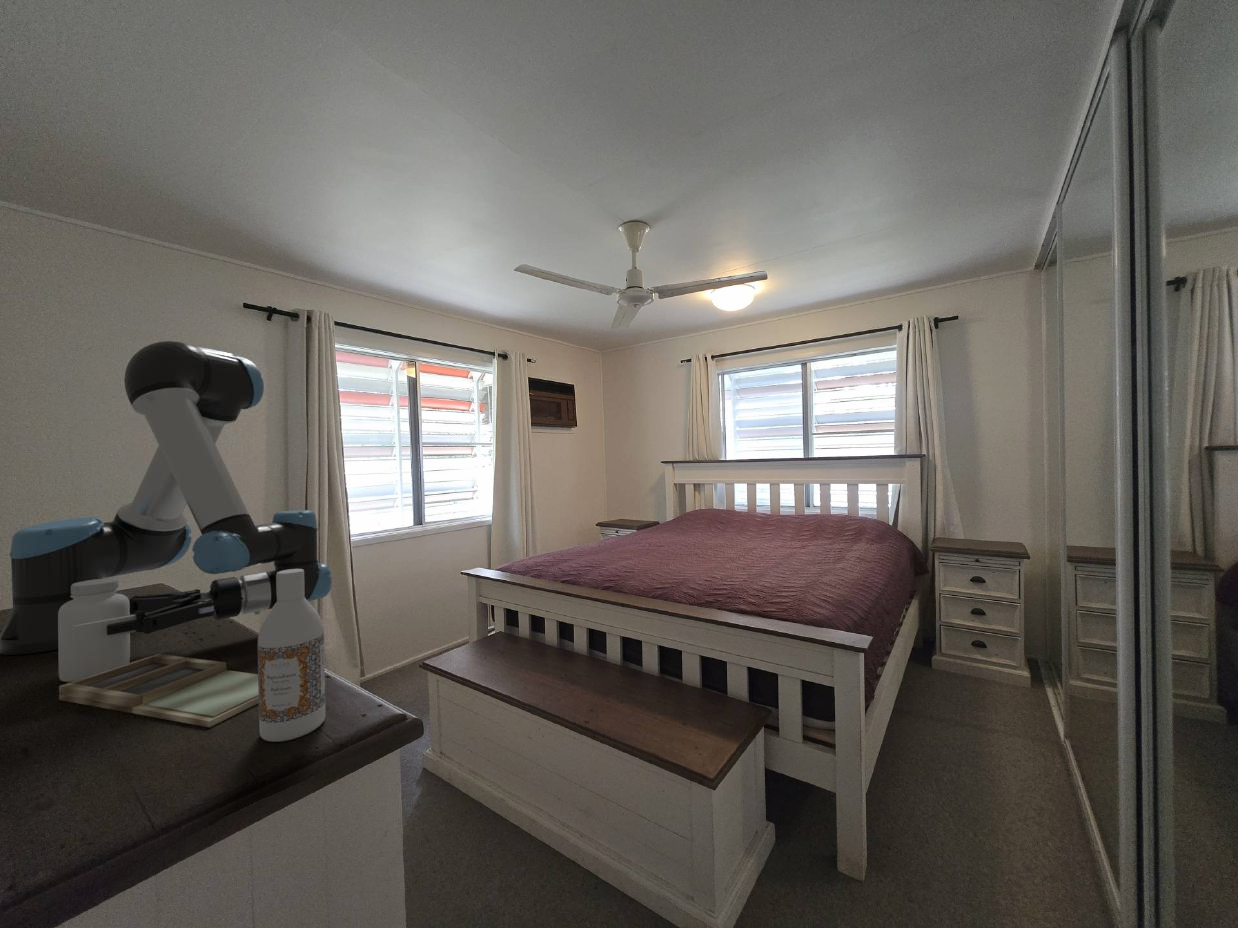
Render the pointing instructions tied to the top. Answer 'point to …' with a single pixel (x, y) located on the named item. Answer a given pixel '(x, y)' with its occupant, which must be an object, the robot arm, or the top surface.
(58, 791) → the top surface
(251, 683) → the tray
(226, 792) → the top surface
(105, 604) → the pill bottle
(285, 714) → the bath foam
